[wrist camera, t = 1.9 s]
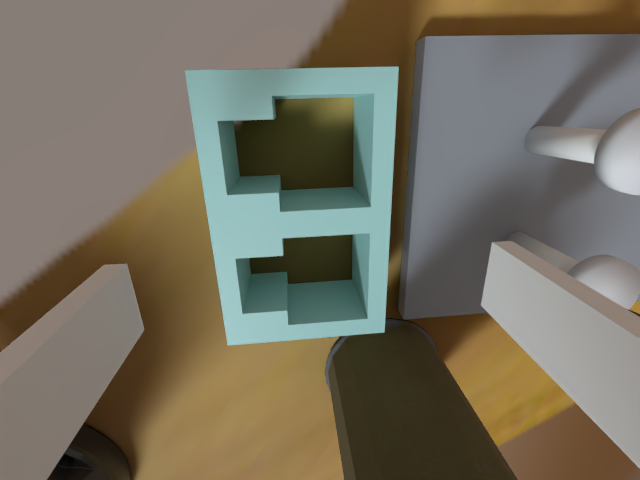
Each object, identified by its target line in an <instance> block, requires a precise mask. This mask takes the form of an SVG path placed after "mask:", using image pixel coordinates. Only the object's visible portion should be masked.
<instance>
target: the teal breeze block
mask: <svg viewBox="0 0 640 480" xmlns="http://www.w3.org/2000/svg"><path fill="white" fill-rule="evenodd" d="M398 72H399V66H398V67H344V68H290V69H243V70H242V69H238V70H189V71H188V70H185V75H186V82H187V88H188V94H189V100H190V107H191V113H192V120H193V126H194V133H195V139H196V146H197V152H198V158H199V165H200V171H201V178H202V184H203V191H204V197H205V203H206V210H207V216H208V223H209V229H210V235H211V242H212V248H213V255H214V261H215V267H216V274H217V280H218V287H219V293H220V299H221V306H222V312H223V319H224V325H225V331H226V338H227V344H228V345H240V344H252V343H264V342H276V341H288V340H300V339H312V338H324V337H336V336H348V335H360V334H372V333H384V332H385V316H386V297H387V279H388V260H389V241H390V222H391V204H392V185H393V166H394V147H395V128H396V110H397V91H398ZM343 97H354V136H353V187H338V188H317V189H296V190H281V179H280V175H264V176H241V177H240V174H239V165H238V156H237V147H236V139H235V130H234V121H237V120H270V119H275V118H276V108H275V99H304V98H343ZM349 234H353V239H352V280H338V281H323V282H309V283H295V284H288V280H287V272H274V273H259V274H251V270H250V261H249V258H256V257H272V256H283V242H284V238H298V237H315V236H332V235H349Z"/></svg>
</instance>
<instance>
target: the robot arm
mask: <svg viewBox="0 0 640 480" xmlns="http://www.w3.org/2000/svg"><path fill="white" fill-rule="evenodd" d="M481 306H482V307H483V308H484V309H485V310H486V311H487V312H488V313H489V314H490V315H491V316H492V317H493V318H494V319H495V321H496V322H497V323H498V324H499V325H500V326H501V327H502V328H503V329H504V330H505V331H506V332H507V333H508V334H509V335H510V336H511V337H512V338H513V339H514V340H515V341H516V342H517V343H518V344H519V345H520V346H521V347H522V348H523V349H524V350H525V351H526V352H527V353H528V354H529V355H530V356H531V357H532V358H533V359H534V361H535V362H536V363H537V364H538V365H539V366H540V367H541V368H542V369H543V370H544V371H545V372H546V373H547V374H548V375H549V376H550V377H551V378H552V379H553V380H554V381H555V382H556V383H557V384H558V385H559V386H560V387H561V388H562V389H563V390H564V391H565V392H566V393H567V394H568V395H569V396H570V397H571V398H572V399H573V400H574V402H575V403H576V404H577V405H578V406H579V407H580V408H581V409H582V410H583V411H584V412H585V413H587V415H588V416H589V417H590V418H591V419H592V420H593V421H594V422H595V423H596V424H597V425H598V426H599V427H600V428H601V429H602V430H603V431H604V432H605V433H606V434H607V435H608V436H609V437H610V438H611V439H612V440H613V442H615V444H616V445H617V446H618V447H619V448H620V449H621V450H622V451H623V452H624V453H625V454H626V455H627V456H628V457H629V458H630V459H631V460H632V461H633V462H634V463H635V464H636V465H637V466H638V467H639V468H640V314H638V313H636V312H633V311H631V310H628V309H626V308H624V307H622V306H620V305H619V304H617V303H615V302H614V301H612V300H610V299H609V298H607V297H605V296H604V295H602V294H600V293H598V292H597V291H595V290H593V289H592V288H590V287H588V286H587V285H585V284H583V283H582V282H580V281H578V280H577V279H575V278H573V277H572V276H570V275H568V274H566V273H565V272H563V271H561V270H560V269H558V268H556V267H555V266H553V265H551V264H550V263H548V262H546V261H545V260H543V259H541V258H540V257H538V256H536V255H534V254H533V253H531V252H529V251H528V250H526V249H524V248H523V247H521V246H519V245H518V244H516V243H514V242H513V241H502V242H492V245H491V251H490V256H489V262H488V268H487V273H486V279H485V284H484V290H483V296H482V301H481ZM143 331H144V326H143V322H142V318H141V314H140V311H139V307H138V303H137V299H136V295H135V292H134V288H133V284H132V280H131V277H130V273H129V269H128V265H127V263H126V264H109V265H103V266H102V267H101V268H100V269H98V270H97V271H96V272H95V273H94V274H92V275H91V276H90V277H89V278H88V279H87V280H85V281H84V282H83V283H82V284H81V285H79V286H78V287H77V288H76V289H75V290H73V291H72V292H71V293H70V294H69V295H68V296H66V297H65V298H64V299H63V300H62V301H60V302H59V303H58V304H57V305H56V306H55V307H53V308H52V309H51V310H50V311H49V312H47V313H46V314H45V315H44V316H43V317H42V318H40V319H39V320H38V321H37V322H36V323H34V324H33V325H32V326H31V327H30V328H28V329H27V330H26V331H25V332H24V333H23V334H21V335H20V336H19V337H18V338H17V339H15V340H14V341H13V342H12V343H11V344H10V345H8V346H7V347H6V348H5V349H4V350H2V351H0V480H131V475H130V469H129V465H128V463H127V461H126V459H125V457H124V455H123V454H122V452H121V451H120V450H119V449H118V448H117V447H116V446H115V445H114V444H113V443H112V442H111V441H110V440H109V439H107V438H106V437H105V436H103V435H102V434H100V433H98V432H97V431H95V430H93V429H91V428H89V427H87V426H85V425H83V423H84V422H85V420H86V419H87V417H88V416H89V414H90V413H91V411H92V410H93V408H94V407H95V405H96V403H97V402H98V400H99V399H100V397H101V396H102V394H103V393H104V391H105V390H106V388H107V387H108V385H109V384H110V382H111V380H112V379H113V377H114V376H115V374H116V373H117V371H118V370H119V368H120V367H121V365H122V364H123V362H124V361H125V359H126V357H127V356H128V354H129V353H130V351H131V350H132V348H133V347H134V345H135V344H136V342H137V341H138V339H139V338H140V336H141V335H142V333H143Z"/></svg>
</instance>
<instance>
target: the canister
mask: <svg viewBox="0 0 640 480" xmlns="http://www.w3.org/2000/svg"><path fill="white" fill-rule="evenodd" d="M325 376H326V383H327V385H328V387H329V389H330V391H331V396H332V403H333V409H334V416H335V422H336V429H337V435H338V441H339V448H340V454H341V461H342V467H343V474H344V480H517V478H516V476H515V475H514V473H513V472H512V470H511V468H510V467H509V465H508V464H507V462H506V460H505V459H504V458H503V456H502V454H501V452H500V451H499V449H498V448H497V446H496V445H495V443H494V441H493V440H492V438H491V437H490V435H489V433H488V432H487V430H486V429H485V427H484V425H483V424H482V422H481V421H480V419H479V417H478V416H477V414H476V413H475V411H474V409H473V408H472V406H471V405H470V403H469V402H468V400H467V398H466V397H465V395H464V394H463V392H462V390H461V389H460V387H459V386H458V384H457V382H456V381H455V379H454V378H453V376H452V374H451V373H450V371H449V370H448V368H447V367H446V365H445V363H444V362H443V360H442V359H441V357H440V355H439V354H438V352H437V349H436V345H435V343H434V342H433V340H432V338H431V337H430V335H429V334H428V333H427V332H426V331H425V330H423V329H422V328H420V327H419V326H417V325H415V324H413V323H411V322H409V321H404V320H397V319H385V332H384V333H372V334H360V335H348V336H343V337H342V338H341V339H339V341H338V342H337V343H336V344H335V345H334V346H333V348H332V350H331V352H330V354H329V357H328V360H327V363H326V369H325Z"/></svg>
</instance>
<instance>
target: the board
mask: <svg viewBox="0 0 640 480" xmlns="http://www.w3.org/2000/svg"><path fill="white" fill-rule="evenodd" d="M502 241H513V242H514V243H516V244H518V245H519V246H521V247H523V248H524V249H526V250H528V251H529V252H531V253H533V254H534V255H536V256H538V257H540V258H541V259H543V260H545V261H546V262H548V263H550V264H551V265H553V266H555V267H556V268H558V269H560V270H561V271H563V272H565V273H566V274H568V275H570V276H572V277H573V278H575V279H577V280H578V281H580V282H582V283H583V284H585V285H587V286H588V287H590V288H592V289H593V290H595V291H597V292H598V293H600V294H602V295H604V296H605V297H607V298H609V299H610V300H612V301H614V302H615V303H617V304H619V305H620V306H622V307H624V308H626V309H628V310H629V309H630V308H631V307H632V306H633V305H634V303H635V302H636V301H640V34H575V35H485V36H425V37H423V38H421V39H419V40H417V41H416V54H415V69H414V83H413V98H412V112H411V127H410V142H409V156H408V171H407V185H406V200H405V214H404V229H403V243H402V258H401V273H400V287H399V302H398V310H399V312H400V314H401V316H402V318H403V319H404V320H406V319H419V318H431V317H443V316H456V315H468V314H481V313H488V312H487V311H486V310H485V309H484V308H483V307H482V306H481V301H482V296H483V290H484V284H485V279H486V273H487V268H488V262H489V256H490V251H491V245H492V242H502Z"/></svg>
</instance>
